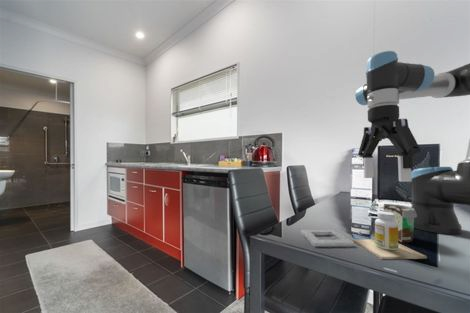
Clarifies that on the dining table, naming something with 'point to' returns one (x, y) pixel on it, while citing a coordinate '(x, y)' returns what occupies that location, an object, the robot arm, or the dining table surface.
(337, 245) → the grey square frame
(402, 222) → the food container
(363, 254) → the dining table surface
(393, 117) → the robot arm
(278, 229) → the dining table surface
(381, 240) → the supplement bottle
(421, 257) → the oak pad
